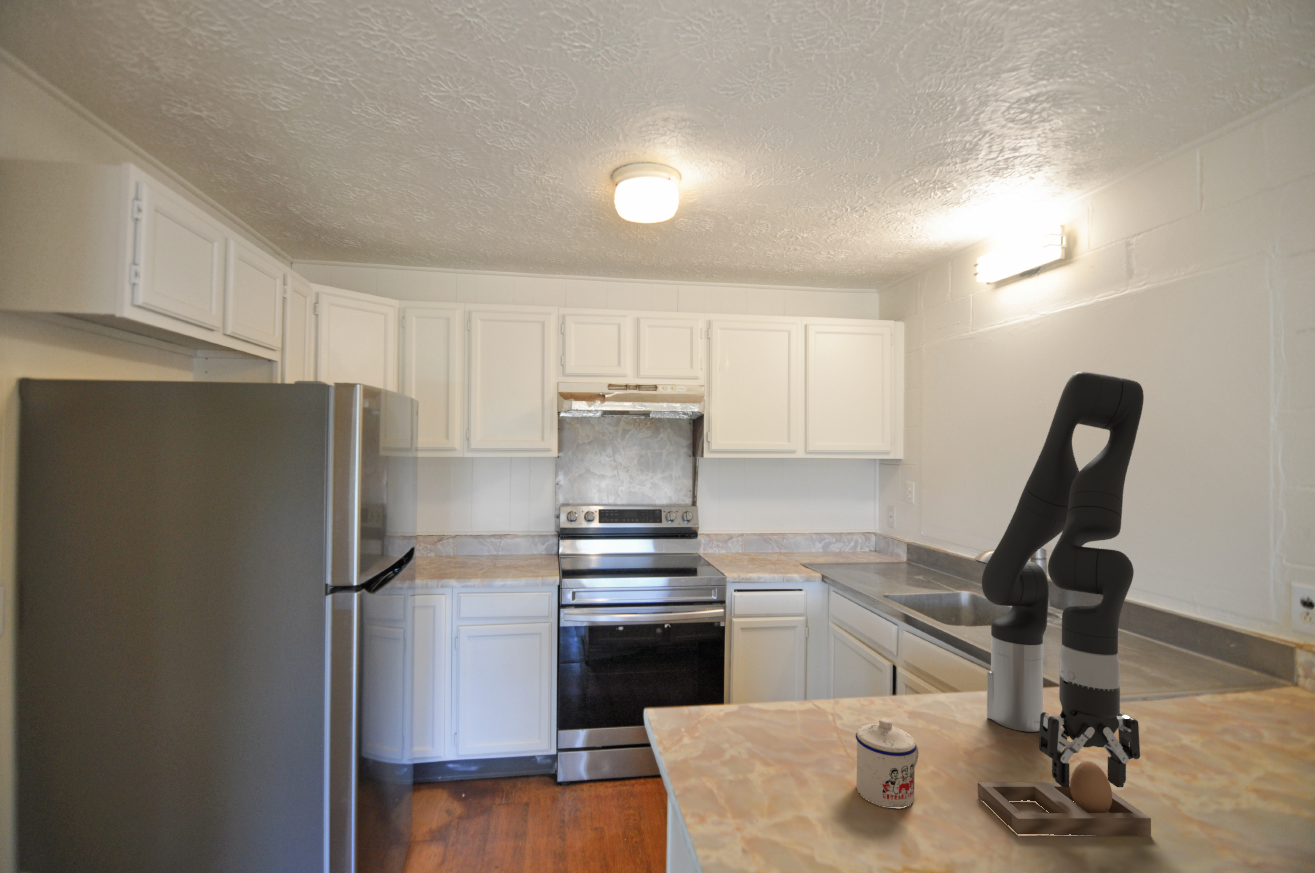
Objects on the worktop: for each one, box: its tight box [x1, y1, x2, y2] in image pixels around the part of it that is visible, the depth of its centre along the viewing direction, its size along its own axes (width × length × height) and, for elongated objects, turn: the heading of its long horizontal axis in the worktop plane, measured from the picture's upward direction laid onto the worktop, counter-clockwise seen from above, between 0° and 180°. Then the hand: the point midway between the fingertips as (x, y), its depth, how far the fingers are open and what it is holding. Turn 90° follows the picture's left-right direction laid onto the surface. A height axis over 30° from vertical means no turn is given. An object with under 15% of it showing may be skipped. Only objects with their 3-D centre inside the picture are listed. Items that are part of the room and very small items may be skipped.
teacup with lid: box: [855, 717, 919, 807], centre depth 95 cm, size 12×9×12 cm
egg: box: [1069, 760, 1113, 813], centre depth 90 cm, size 5×5×8 cm
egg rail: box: [977, 781, 1152, 837], centre depth 89 cm, size 20×10×2 cm, turn 93°
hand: (1088, 784), depth 90 cm, fingers open, 8 cm apart
